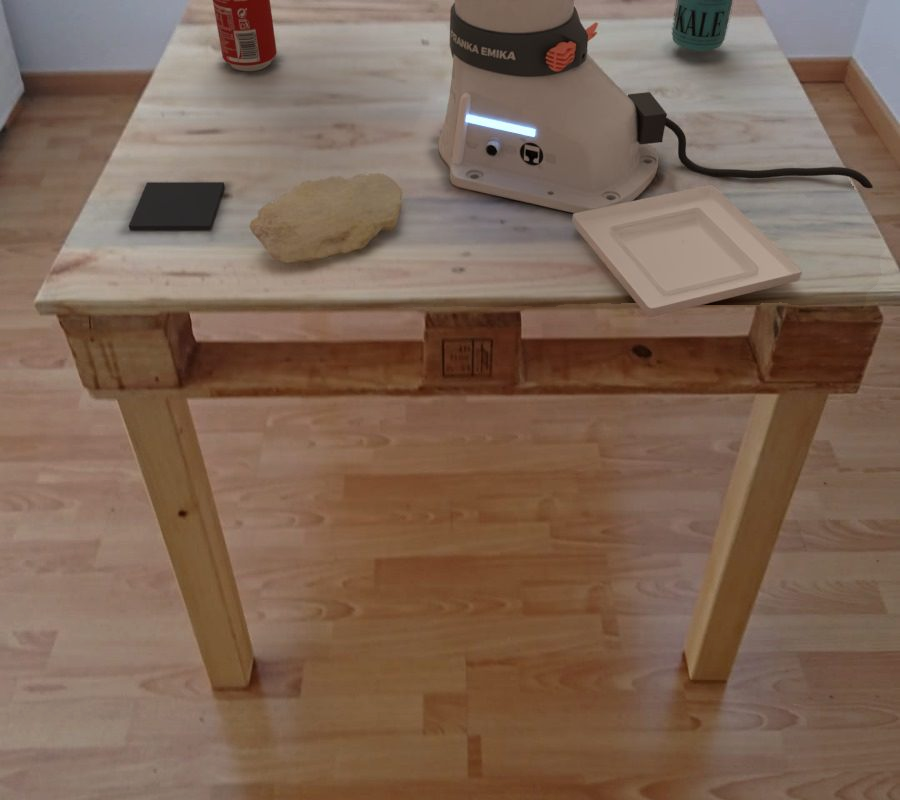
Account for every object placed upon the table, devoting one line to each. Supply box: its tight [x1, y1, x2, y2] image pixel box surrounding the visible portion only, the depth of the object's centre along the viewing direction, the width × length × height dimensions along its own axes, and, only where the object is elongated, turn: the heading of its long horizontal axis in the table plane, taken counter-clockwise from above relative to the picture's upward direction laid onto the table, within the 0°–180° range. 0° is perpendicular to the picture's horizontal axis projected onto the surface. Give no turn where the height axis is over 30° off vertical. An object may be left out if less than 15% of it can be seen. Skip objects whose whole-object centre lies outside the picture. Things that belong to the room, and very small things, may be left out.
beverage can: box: [212, 0, 277, 72], centre depth 107 cm, size 6×6×12 cm
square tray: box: [571, 184, 803, 318], centre depth 83 cm, size 14×2×14 cm
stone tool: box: [249, 172, 404, 264], centre depth 85 cm, size 8×4×15 cm
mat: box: [128, 181, 226, 231], centre depth 89 cm, size 8×8×1 cm
